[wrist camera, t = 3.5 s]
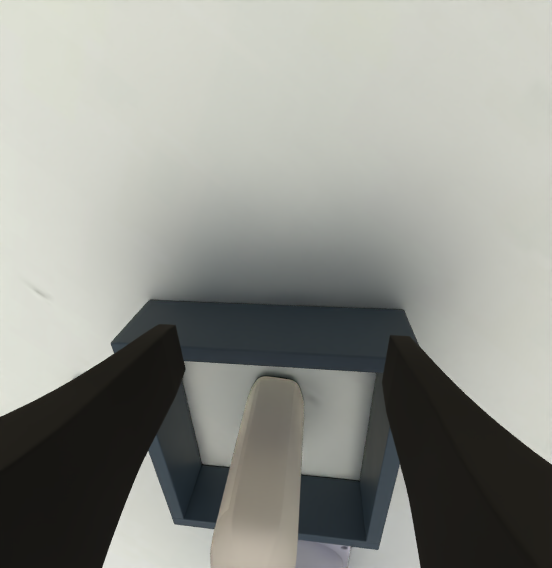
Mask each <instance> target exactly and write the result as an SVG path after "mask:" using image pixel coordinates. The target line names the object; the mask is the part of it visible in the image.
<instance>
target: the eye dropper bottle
mask: <svg viewBox="0 0 552 568" xmlns="http://www.w3.org/2000/svg"><path fill="white" fill-rule="evenodd" d="M303 425H304V402H303V397H302V393H301V390H300V388H299V386H298V384H297V383H296V382H295V381H292V380H289V379H283V378H276V377H268V376H264V377H260V378H258V379H257V381H256V382H255V383H254V385H253V386H252V388H251V390H250V393H249V395H248V398H247V402H246V406H245V410H244V414H243V418H242V422H241V426H240V429H239V433H238V437H237V441H236V445H235V449H234V453H233V457H232V461H231V465H230V469H229V473H228V477H227V481H226V485H225V489H224V493H223V497H222V501H221V505H220V510H219V514H218V518H217V522H216V526H215V530H214V534H213V539H212V544H211V553H210V564H211V568H295V566H296V557H297V542H298V523H299V504H300V484H301V465H302V445H303Z"/></svg>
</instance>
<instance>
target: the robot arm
mask: <svg viewBox="0 0 552 568" xmlns="http://www.w3.org/2000/svg"><path fill="white" fill-rule="evenodd" d="M184 372H185V365H184V360H183V355H182V351H181V346H180V342H179V337H178V333H177V328H176V325H170V324H158V325H157V326H155V327H153V328H152V329H150V330H149V331H147V332H145V333H144V334H142V335H141V336H140V337H138V338H137V339H135V340H134V341H132V342H131V343H129V344H128V345H126V346H125V347H123V348H122V349H120V350H119V351H117V352H116V353H114V354H113V355H111V356H110V357H108V358H107V359H105V360H104V361H102V362H101V363H99V364H97V365H96V366H94V367H93V368H91V369H89V370H88V371H86V372H85V373H83V374H81V375H80V376H78V377H77V378H75V379H73V380H72V381H70V382H68V383H66V384H65V385H63V386H61V387H59V388H58V389H56V390H54V391H52V392H50V393H48V394H46V395H44V396H43V397H41V398H39V399H37V400H35V401H33V402H31V403H29V404H27V405H25V406H23V407H21V408H18V409H16V410H14V411H12V412H10V413H8V414H6V415H4V416H1V417H0V568H102V566H103V563H104V561H105V558H106V555H107V552H108V549H109V546H110V543H111V540H112V538H113V535H114V532H115V529H116V527H117V524H118V521H119V519H120V516H121V513H122V511H123V508H124V505H125V503H126V500H127V498H128V495H129V493H130V490H131V488H132V485H133V483H134V480H135V478H136V475H137V473H138V471H139V468H140V466H141V464H142V462H143V460H144V458H145V456H146V454H147V452H148V450H149V448H150V446H151V444H152V442H153V440H154V438H155V436H156V434H157V432H158V431H159V429H160V427H161V425H162V423H163V421H164V419H165V417H166V415H167V413H168V411H169V409H170V407H171V405H172V403H173V401H174V399H175V397H176V395H177V392H178V389H179V387H180V384H181V381H182V378H183V375H184ZM382 387H383V395H384V402H385V408H386V414H387V417H388V421H389V425H390V429H391V433H392V436H393V440H394V444H395V447H396V451H397V455H398V458H399V462H400V466H401V469H402V473H403V477H404V480H405V484H406V488H407V493H408V497H409V502H410V507H411V513H412V519H413V524H414V530H415V536H416V542H417V548H418V554H419V560H420V566H421V568H552V464H550V463H549V462H547V461H546V460H545V459H543V458H542V457H540V456H539V455H538V454H536V453H535V452H534V451H533V450H531V449H530V448H529V447H527V446H526V445H525V444H523V443H522V442H521V441H520V440H518V439H517V438H516V437H515V436H513V435H512V434H511V433H510V432H508V431H507V430H506V429H505V428H503V427H502V426H501V425H500V424H498V423H497V422H496V421H495V420H494V419H493V418H491V417H490V416H489V415H488V414H487V413H486V412H485V411H483V410H482V409H481V408H480V407H479V406H478V405H477V404H476V403H475V402H474V401H472V400H471V399H470V398H469V397H468V396H467V395H466V394H465V393H464V392H463V391H462V390H461V389H460V388H459V387H458V386H457V385H456V384H455V383H454V382H453V381H452V380H451V379H450V378H449V377H448V376H447V375H446V374H445V373H444V372H443V371H442V370H441V369H440V368H439V367H438V366H437V365H436V364H435V363H434V362H433V361H432V359H431V358H430V357H429V356H428V355H427V354H426V353H425V352H424V351H423V350H422V349H421V348H420V346H419V345H418V344H417V343H416V342H415V341H414V340H413V339H412V338H411V337H410V336H399V335H390V338H389V343H388V349H387V355H386V361H385V366H384V372H383V378H382ZM350 549H351V546H343V545H335V544H327V543H319V542H311V541H304V540H298V542H297V557H296V566H295V568H348V561H349V555H350Z"/></svg>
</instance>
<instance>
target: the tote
mask: <svg viewBox="0 0 552 568" xmlns="http://www.w3.org/2000/svg"><path fill="white" fill-rule="evenodd" d="M158 324H170V325H176V328H177V333H178V337H179V342H180V346H181V351H182V355H183V360H184V361H194V362H210V363H227V364H243V365H259V366H276V367H292V368H309V369H325V370H342V371H358V372H374V373H377V374H376V381H375V387H374V393H373V399H372V406H371V412H370V418H369V425H368V431H367V437H366V444H365V450H364V456H363V463H362V469H361V475H360V481H353V480H343V479H334V478H324V477H314V476H304V475H301V484H300V504H299V523H298V540H304V541H311V542H319V543H327V544H335V545H343V546H351V547H359V548H367V549H375V550H378V549H379V545H380V541H381V537H382V533H383V529H384V525H385V521H386V517H387V513H388V509H389V505H390V501H391V497H392V493H393V489H394V485H395V481H396V477H397V473H398V469H399V465H400V462H399V458H398V455H397V451H396V447H395V444H394V440H393V436H392V433H391V429H390V425H389V421H388V417H387V414H386V408H385V402H384V395H383V387H382V378H383V372H384V366H385V361H386V355H387V349H388V343H389V338H390V335H399V336H410V337H411V338H412V339H413V340H414V341H415V342H416V343H417V344H418V342H417V340H416V337H415V335H414V332H413V330H412V328H411V325H410V323H409V321H408V318H407V316H406V313H405V311H404V310H401V309H374V308H347V307H320V306H293V305H267V304H240V303H213V302H186V301H159V300H149V301H148V302H147V303H146V304H145V305H144V306H143V307H142V308H141V310H140V311H139V312H138V313H137V314H136V315H135V316H134V317H133V318H132V320H131V321H130V322H129V323H128V324H127V325H126V326H125V327H124V328H123V330H122V331H121V332H120V333H119V334H118V335H117V336H116V337H115V338H114V340H113V341H112V342H111V346H112V349H113V352H114V353H116V352H117V351H119V350H120V349H122V348H123V347H125V346H126V345H128V344H129V343H131V342H132V341H134V340H135V339H137V338H138V337H140V336H141V335H142V334H144V333H145V332H147V331H149V330H150V329H152V328H153V327H155V326H157V325H158ZM418 345H419V344H418ZM148 451H149V454H150V457H151V459H152V462H153V465H154V468H155V471H156V474H157V476H158V479H159V482H160V485H161V488H162V490H163V493H164V496H165V499H166V502H167V505H168V507H169V510H170V513H171V516H172V519H173V522H174V524H177V525H185V526H193V527H201V528H209V529H215V526H216V522H217V518H218V514H219V510H220V505H221V501H222V497H223V493H224V489H225V485H226V481H227V477H228V473H229V469H230V468H225V467H216V466H206V465H202V464H201V460H200V455H199V451H198V447H197V443H196V438H195V434H194V430H193V426H192V421H191V417H190V413H189V409H188V404H187V400H186V396H185V392H184V388H183V383H182V381H181V384H180V387H179V389H178V392H177V395H176V397H175V399H174V401H173V403H172V405H171V407H170V409H169V411H168V413H167V415H166V417H165V419H164V421H163V423H162V425H161V427H160V429H159V431H158V432H157V434H156V436H155V438H154V440H153V442H152V444H151V446H150V448H149V450H148Z"/></svg>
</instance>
